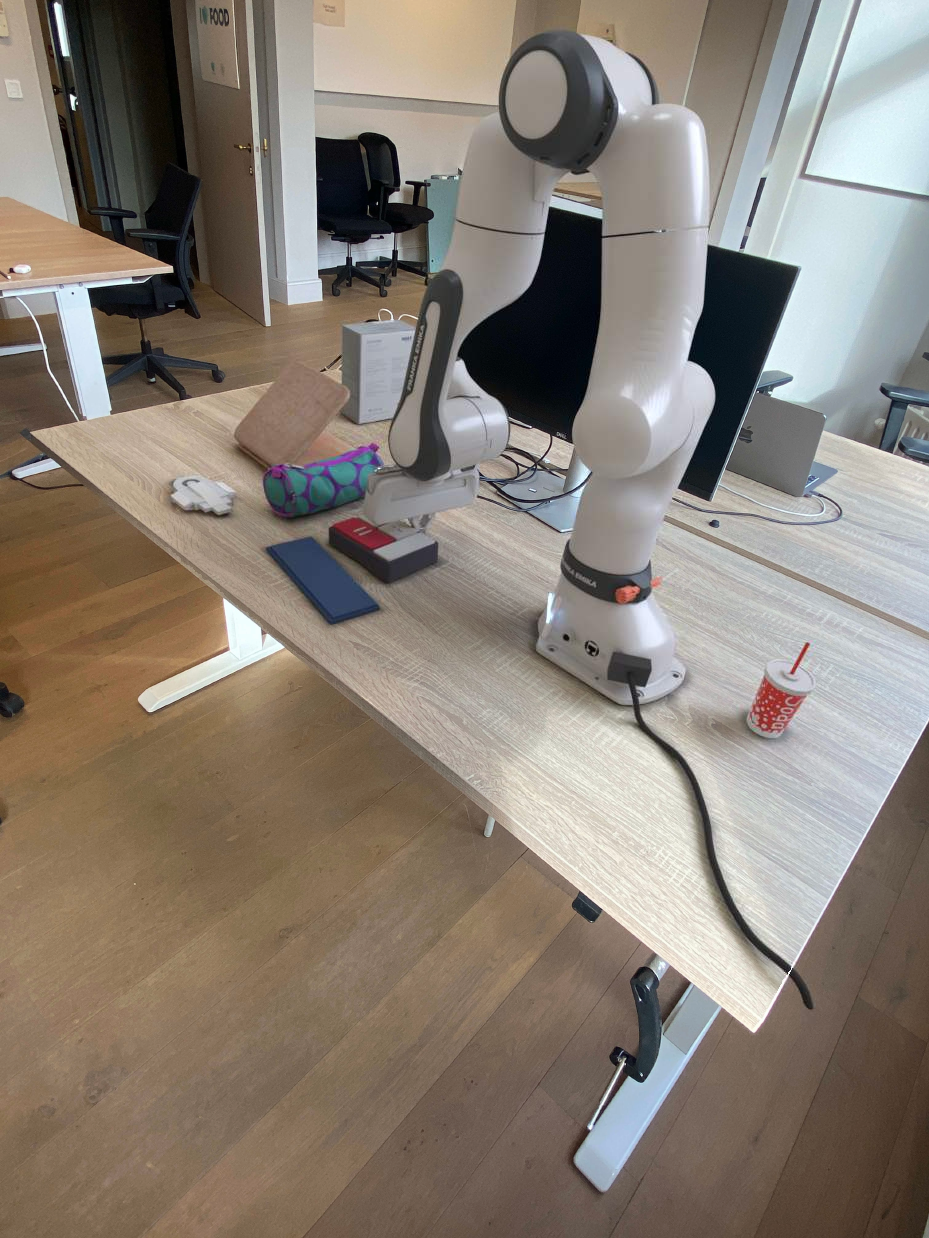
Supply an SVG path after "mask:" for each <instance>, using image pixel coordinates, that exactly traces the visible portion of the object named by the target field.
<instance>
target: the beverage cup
mask: <svg viewBox="0 0 929 1238" xmlns="http://www.w3.org/2000/svg"><path fill="white" fill-rule="evenodd" d="M810 645H811V643H810V642H809V641H807V642H805V643H804V645H803V648H802V649H801V650H800V653H799V654H798V657H797V659H795V660H796V661H791V660H789V659H783V658H776V659H772V660H770V661H768V662H767V663H766V664H765V668H764V670H763V671H764V672H763V677H762V679H761V682H760V684H759V687H758V689H757V691H756V694H755V696H754V699H753V701H752V703H751V707H750V709H749V711H748V714H747V716H746V724H747V726H748V728H749V729H750V730H751V731H752V732H754V733H755V734H757V735H759V736H760V737H763V738H765V739H776V738H779V737H780V736H781V735H782V734H783V732H784V731H785V729H786V728H787V726H788V725H789V723H790V722H791V720H792V719H793V717H794V716H795V714H796V713H797V711H798V710H799V709H800V707H801V705H802V704H803V702H804V701H805V700H806V698H807V697H808V696H810V695H811V694H812V692H814V689H816V687H817V679H816V677H815V676H814V674H813V673H812V672H811V671H809V669H807V668H806V667H805V666H803V665H800V664H801V662H802V660H803V658H804V656H805V655H806V653H807V651H808V649H809V647H810Z"/></svg>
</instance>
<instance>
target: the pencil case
mask: <svg viewBox="0 0 929 1238" xmlns="http://www.w3.org/2000/svg"><path fill="white" fill-rule="evenodd" d="M356 448H357V449H356V450H352V451H348V452H346V453H344V454H342V455H338V456H335V457H332V458H328V459H324V460H321V461H317V462H314V463H311V464H309V465H304V466H299V465H293V464H290V463H285V464H276V465H274V466H273V467H271V468H270V469H267V470H266V471H265V473H264V475H263V477H262V487H263V488H262V489H263V492H264V495H265V498H266V500H267V503H268V505H269V507H270V508H271V509H272V510H273V512H275V514H277V516H279V517H282V518H294V517H297V516H304V515H311V514H315V513H318V512H321V511H326V510H329V509H333V508H336V507H340V506H342V505H344V504H348V503H351V502H353V501H357V500H358V499H362V498H365V494H366V490H367V478H368V475H369V474H370V473H371V472H373V471H374V470H376V468H377V467H379V466H385V463H384V461H383V459H382V458H381V456H380V455H379V454H377V452H378V451H379V449H380V446H379V445H378V444H376V443H375V442H371V443H370V444H369V445H368V446H365V445H361V446H358V447H356ZM288 464H289V465H288Z"/></svg>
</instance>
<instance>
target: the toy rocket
mask: <svg viewBox="0 0 929 1238" xmlns="http://www.w3.org/2000/svg"><path fill="white" fill-rule="evenodd" d="M171 480H172V484H173V493H172V494H170V501H172V502H173V503H175V504H176V505H178V507H180V508H181V509H183V510H184V511H198V510H201V511H203V512H204V513H209V512H214V514H216V515H218V516H221V515H225V514H228V513H231V512H233V507H232V506H233V501H232V499H234V498H236V497H237V491H235V490H234V489H232V488H231V487H230V486H228V485H227V484H226V483H224V482H223V481H214V482H213V481H212V480H211V479H209V478H207V477H203V476H199V475H187V476H179V477H175V478H171Z"/></svg>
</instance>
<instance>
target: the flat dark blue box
mask: <svg viewBox="0 0 929 1238" xmlns="http://www.w3.org/2000/svg"><path fill="white" fill-rule="evenodd" d="M265 551H266V552H267V553H268V554H269V555H270V556H271V558H272V560H274V561H275V562H276V564H278V566H279V567H280V568H281V569H282V571H284V573H285V574H286V575H287V576H288V577H289V578H290V580H291V581H292V582H293V583H294V585H295V586H296V587H297V588H298V589H299V590H300V591H301V592H302V593H303V594H304V596H305V597H306V598H307V599H308V600H309V602H310V603H311V605H313V606H314V607H315V608H316V609H317V611H318V612H319V613H320V614H321V615H322V616H323V617H324V619H325V620H326V621H327V622H328V624H329V625H333V624H337V623H341V622H343V621H346V620H349V619H353V618H357V617H360V616H363V615H366V614H369V613H373V612H375V611H376V612H377V611H379V610H380V608H381V607H380V605H379V604H378V603H377V602H376V601H375V599H373V598H372V597H371V596H370V594H369V593H367V591H365V590H364V588H363V587H361V585H360V584H359V583H358V582H357V581H356V580H355V579H354V578H353V577H352V576H351V575H350V574H349V573H348V572H347V571H346V570H345V569H344V568H343V567H342V566H341V565H340V564H339V563H338V562H337V561H336V560H335V558H334V557H332V556H331V554H330V553H328V551H327V550H326V549H325V548H324V547H323V546H322V545H320V543H319V542H318V541H317V540H316V539H315V538H314V537H313V536H307V537H302V538H298V539H294V540H290V541H284V542H280V543H276V544H271V545H269V546H267V547H265Z"/></svg>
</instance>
